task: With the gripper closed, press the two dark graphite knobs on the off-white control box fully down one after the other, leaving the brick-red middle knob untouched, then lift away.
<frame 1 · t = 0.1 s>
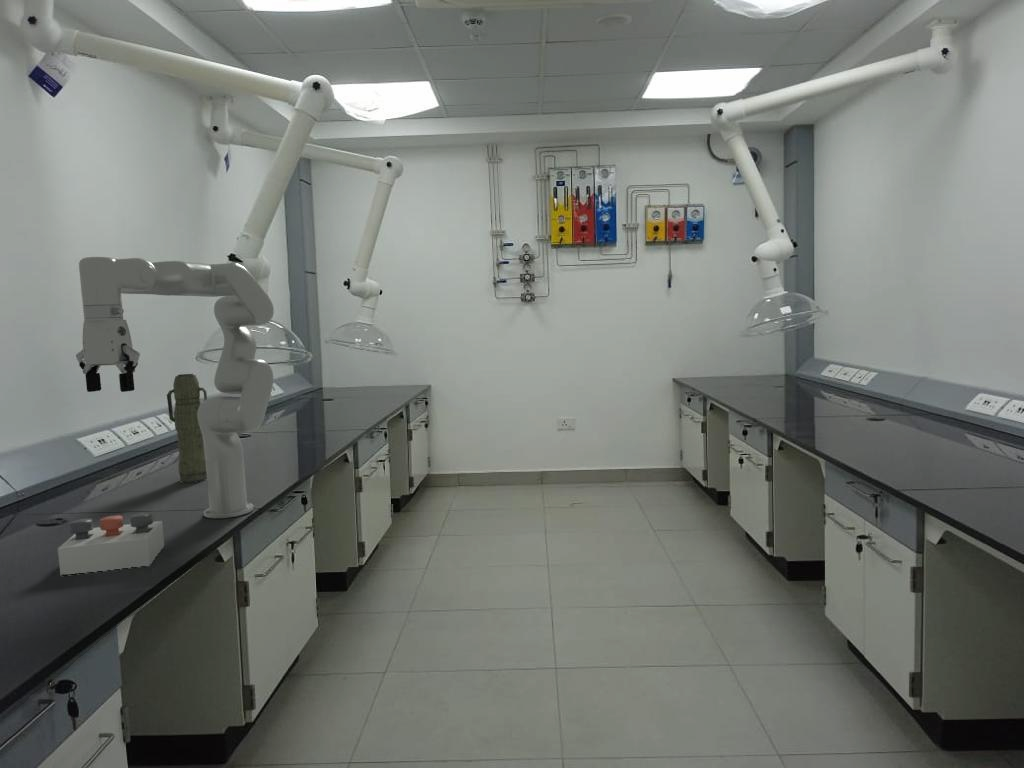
hand: (110, 391, 158), 37 cm above the lab bench, tool pointing down, fingers open, 9 cm apart
red knob: (112, 530, 156), point 7 cm above the lab bench, slide at 0.0 cm
thermos: (194, 480, 234), on the lab bench
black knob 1: (142, 527, 157), point 7 cm above the lab bench, slide at 0.0 cm
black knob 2: (82, 533, 155), point 7 cm above the lab bench, slide at 0.0 cm
control box: (115, 560, 157), on the lab bench
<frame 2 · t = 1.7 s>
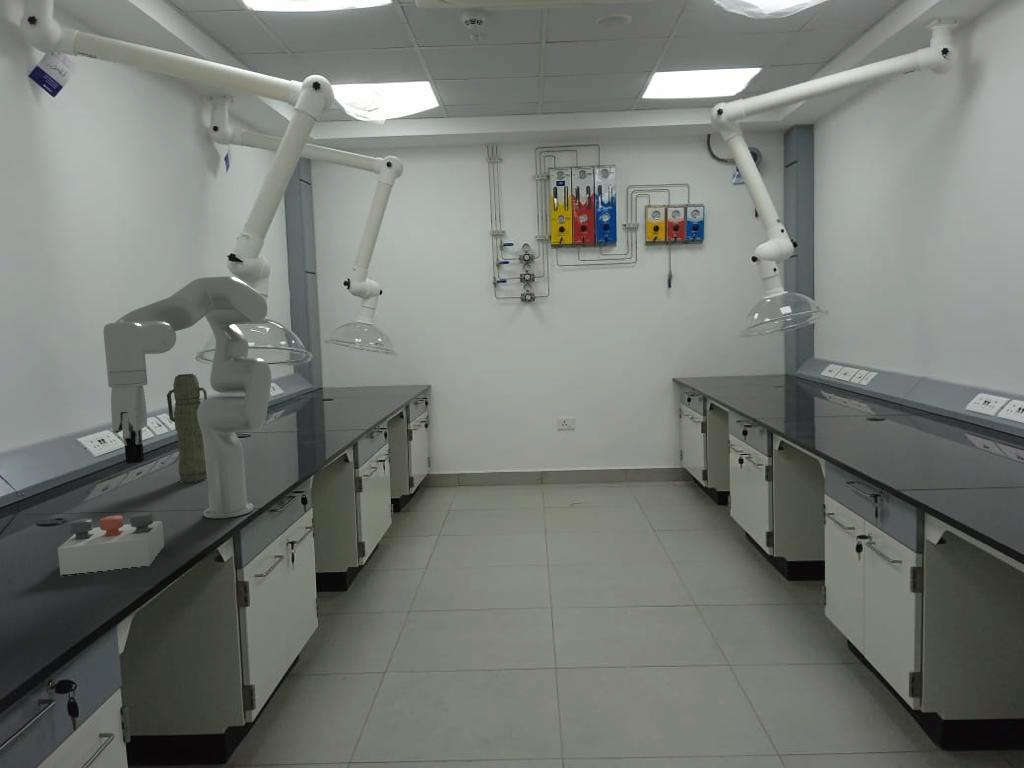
hand: (135, 462, 156), 22 cm above the lab bench, tool pointing down, fingers closed
nothing on the lab bench moved.
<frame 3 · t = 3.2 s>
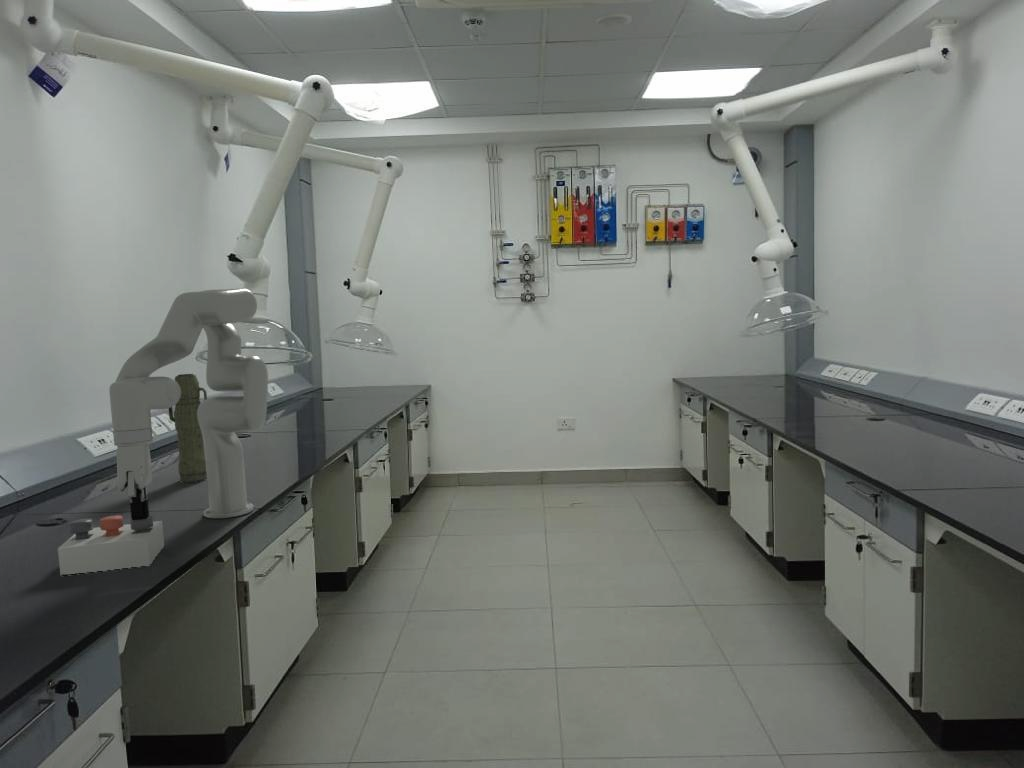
hand: (140, 518, 157), 9 cm above the lab bench, tool pointing down, fingers closed
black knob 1: (142, 530, 158), point 6 cm above the lab bench, slide at 0.7 cm, touching gripper
everything else where it was.
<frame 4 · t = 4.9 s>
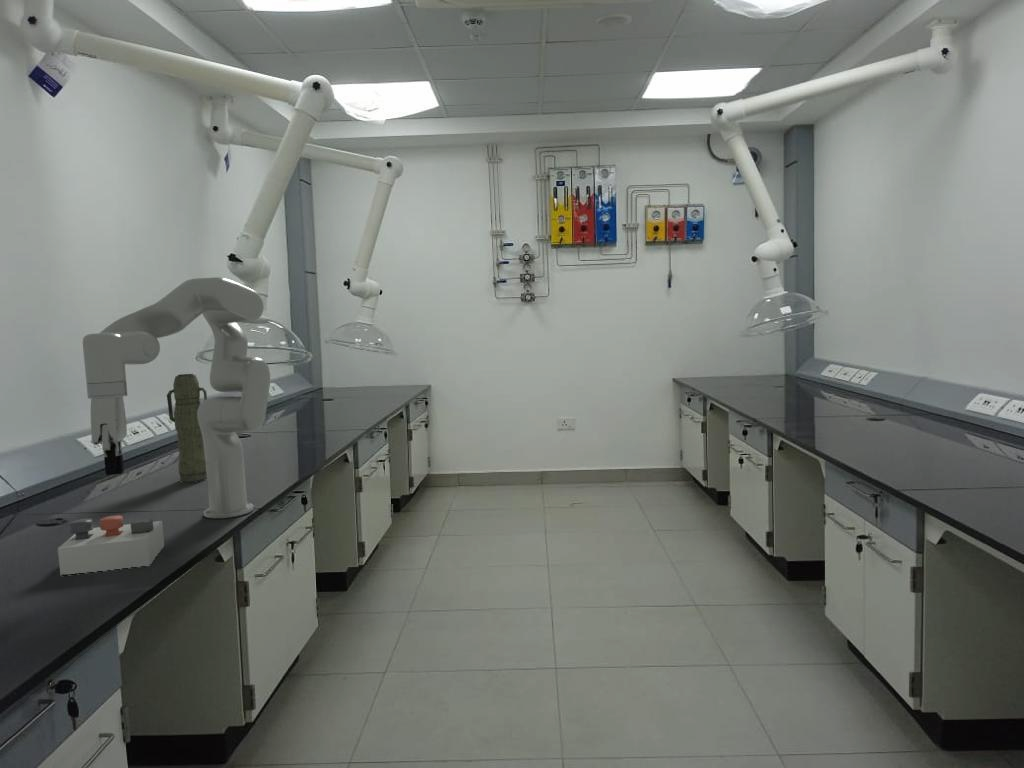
hand: (114, 473, 155), 19 cm above the lab bench, tool pointing down, fingers closed
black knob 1: (142, 533, 158), point 5 cm above the lab bench, slide at 1.4 cm
everything else where it was.
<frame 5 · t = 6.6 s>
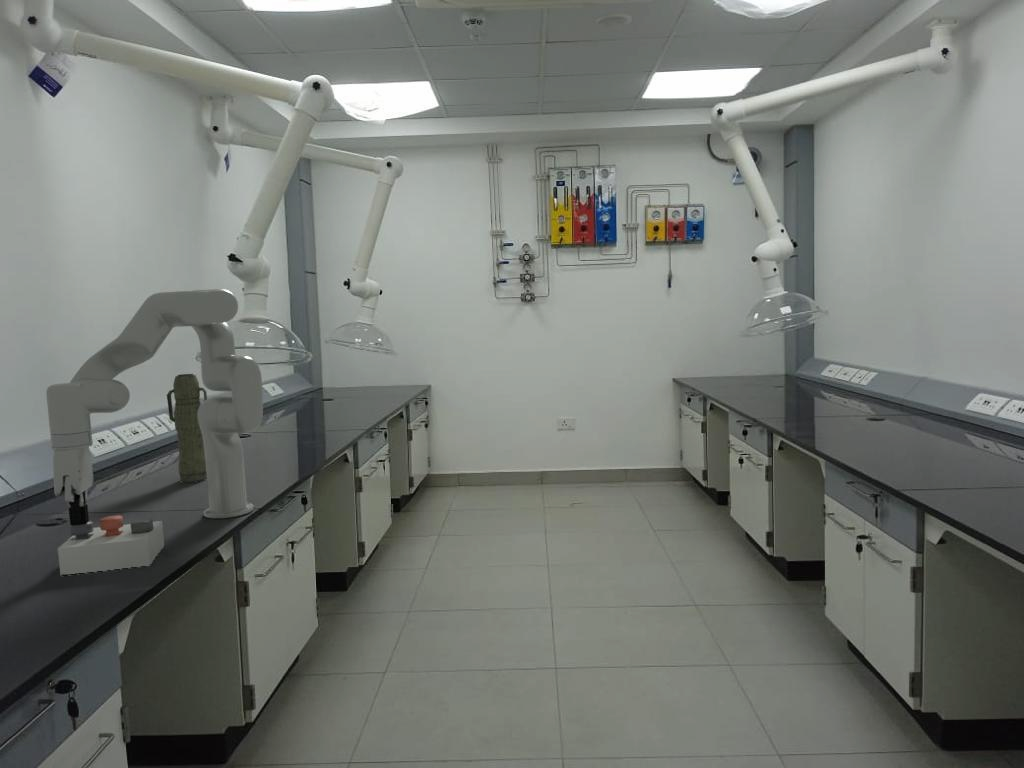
hand: (79, 523, 154), 9 cm above the lab bench, tool pointing down, fingers closed
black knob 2: (82, 535, 155), point 6 cm above the lab bench, slide at 0.5 cm, touching gripper
everything else where it was.
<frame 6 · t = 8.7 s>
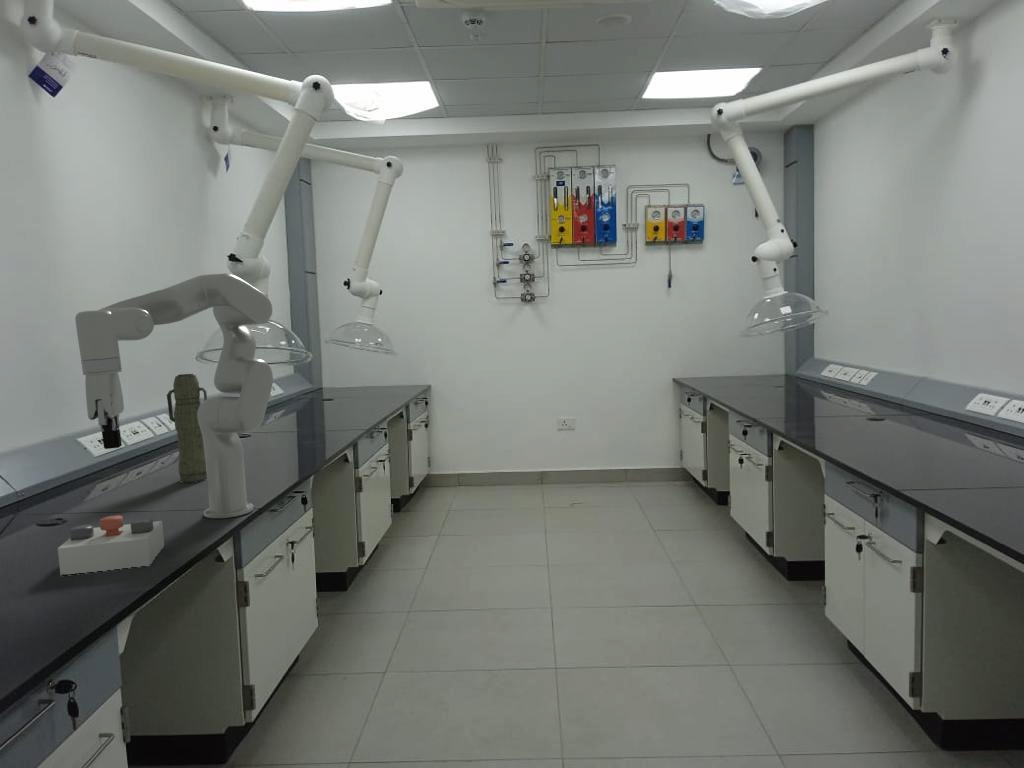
hand: (113, 447, 159), 24 cm above the lab bench, tool pointing down, fingers closed
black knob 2: (82, 540, 155), point 5 cm above the lab bench, slide at 1.4 cm
everything else where it was.
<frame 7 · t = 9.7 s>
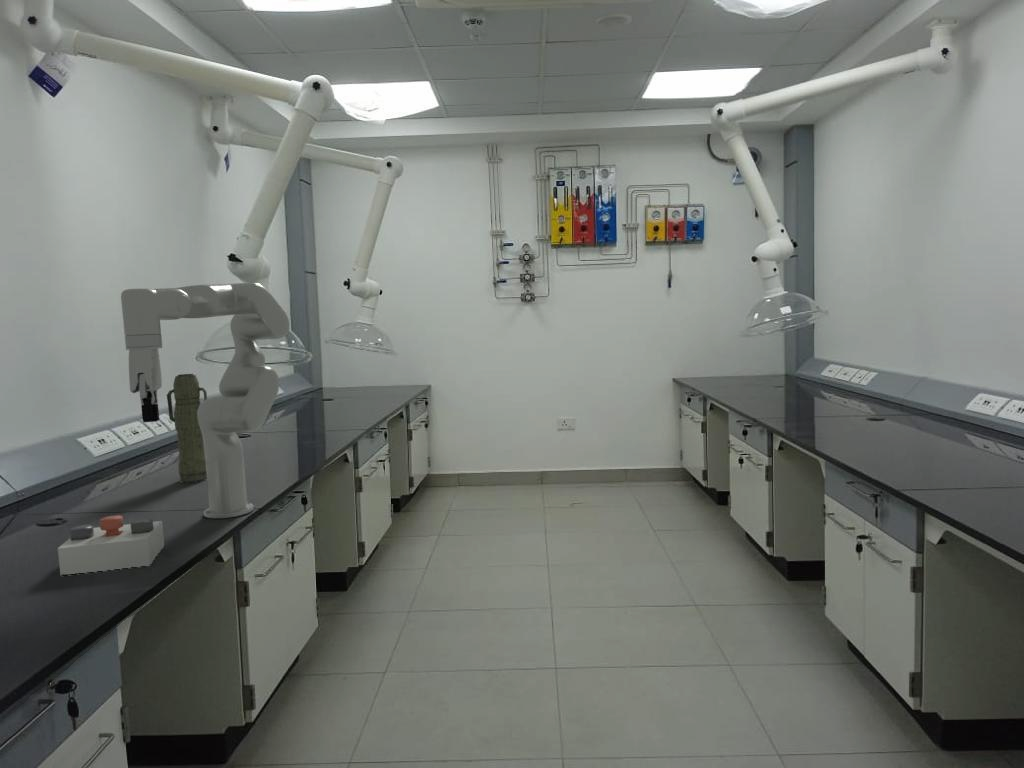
hand: (151, 421, 165), 29 cm above the lab bench, tool pointing down, fingers closed
nothing on the lab bench moved.
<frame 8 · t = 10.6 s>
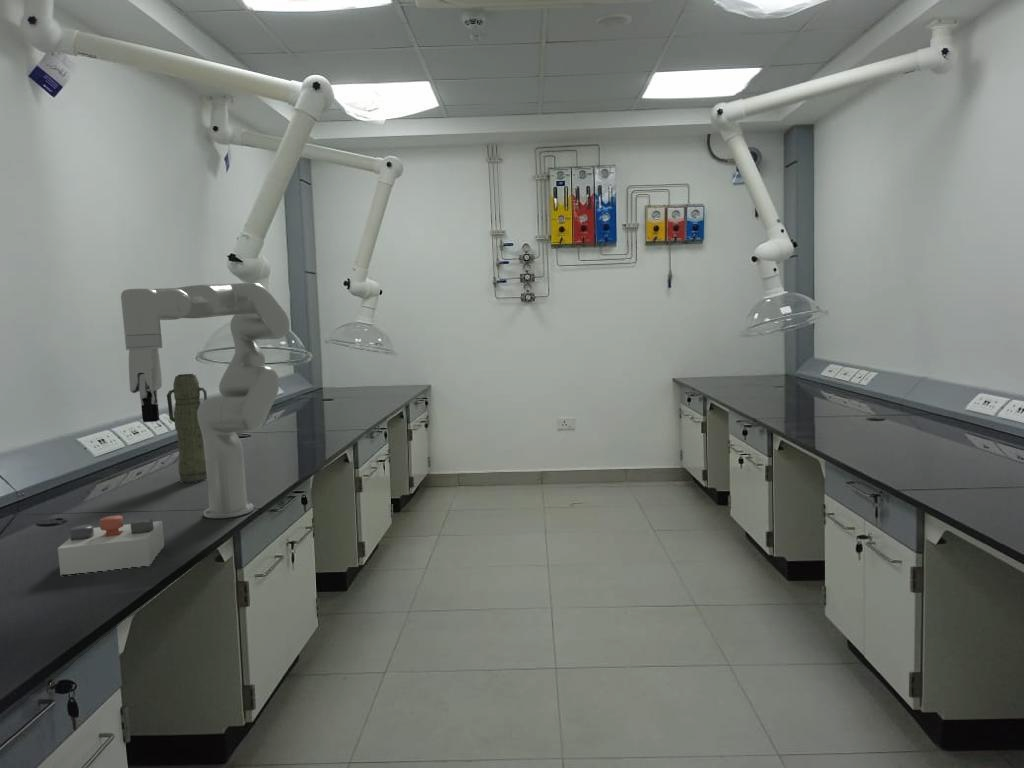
hand: (151, 421, 165), 29 cm above the lab bench, tool pointing down, fingers closed
nothing on the lab bench moved.
at the end: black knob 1 slide at 1.4 cm; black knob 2 slide at 1.4 cm; red knob slide at 0.0 cm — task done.
